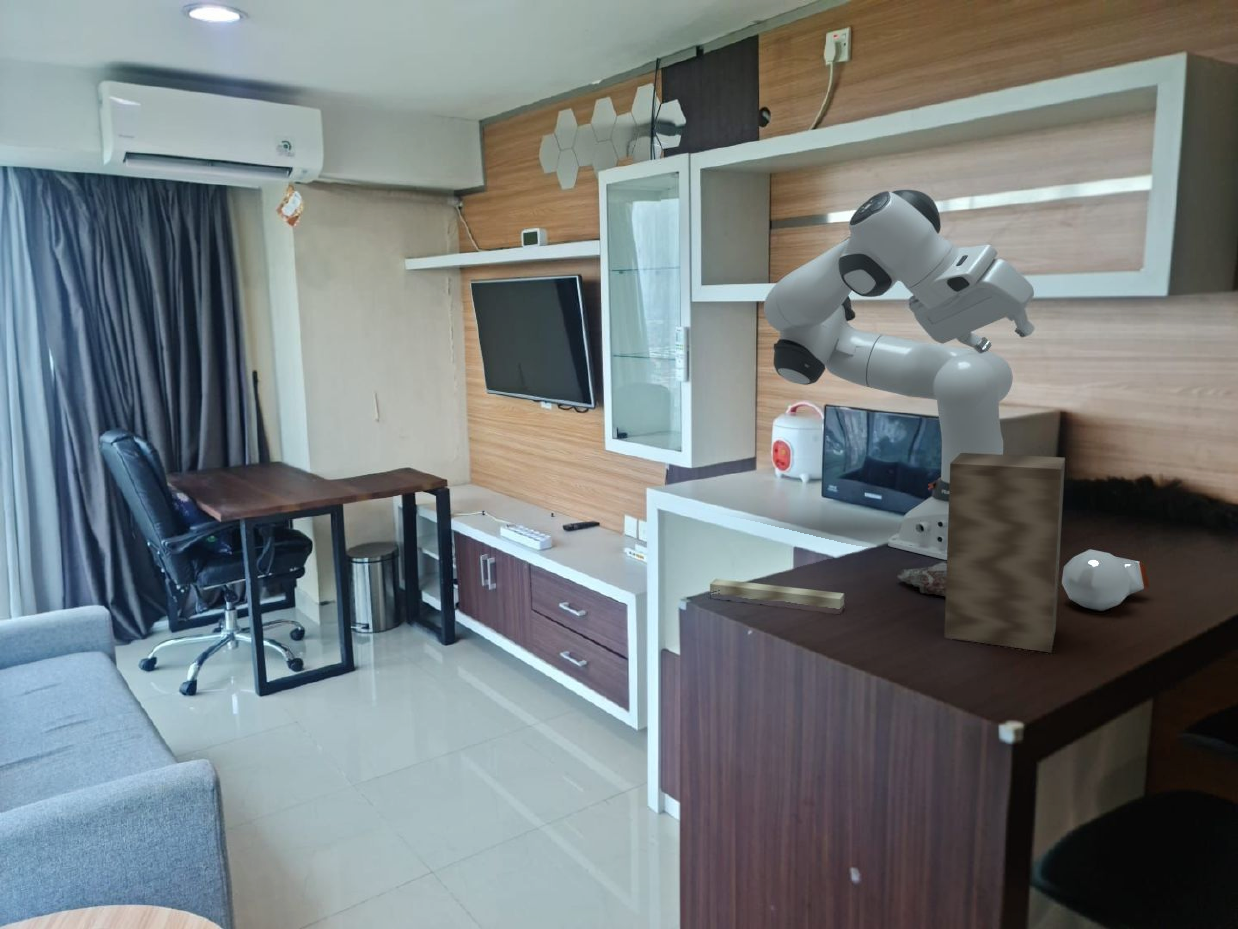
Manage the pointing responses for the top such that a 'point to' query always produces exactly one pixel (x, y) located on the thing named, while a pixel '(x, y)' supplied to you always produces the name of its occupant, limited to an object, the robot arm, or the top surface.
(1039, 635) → the walnut block
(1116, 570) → the potion bottle
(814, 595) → the birch bar
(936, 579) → the mineral rock
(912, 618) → the top surface
